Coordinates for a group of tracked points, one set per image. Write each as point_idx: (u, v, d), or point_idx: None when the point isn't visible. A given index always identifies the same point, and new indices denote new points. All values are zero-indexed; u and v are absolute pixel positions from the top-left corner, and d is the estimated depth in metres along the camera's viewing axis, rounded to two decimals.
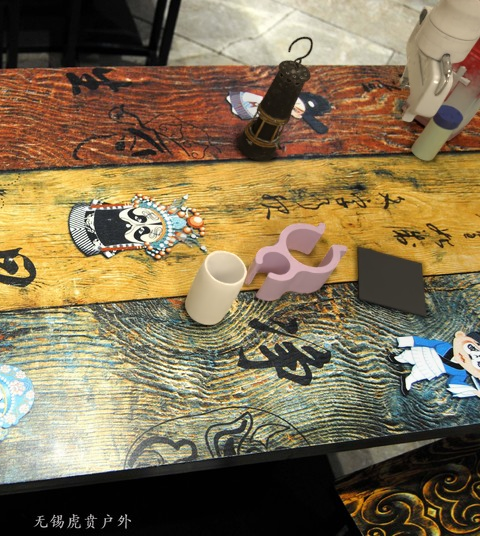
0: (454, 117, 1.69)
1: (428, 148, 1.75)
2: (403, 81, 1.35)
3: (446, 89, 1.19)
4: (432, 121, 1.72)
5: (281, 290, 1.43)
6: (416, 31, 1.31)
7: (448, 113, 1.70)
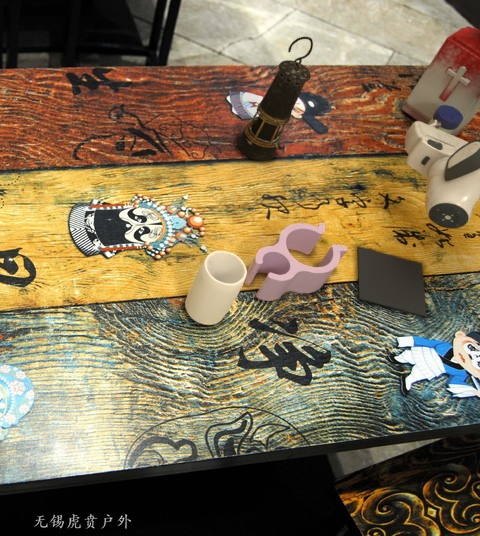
0: (454, 117, 1.69)
1: None
2: None
3: None
4: (432, 121, 1.72)
5: (281, 290, 1.43)
6: None
7: (448, 113, 1.70)
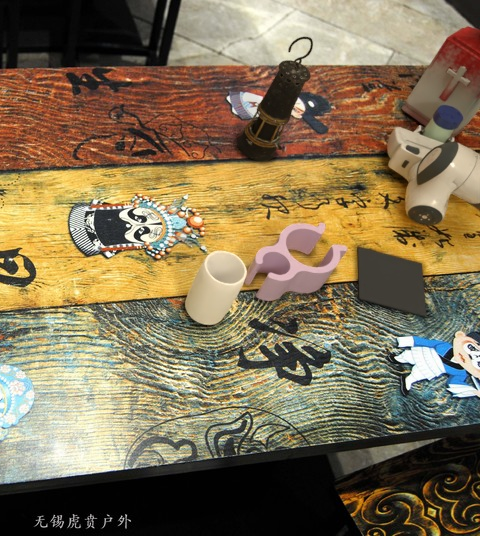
0: (454, 117, 1.69)
1: None
2: None
3: None
4: (432, 121, 1.72)
5: (281, 290, 1.43)
6: None
7: (448, 113, 1.70)
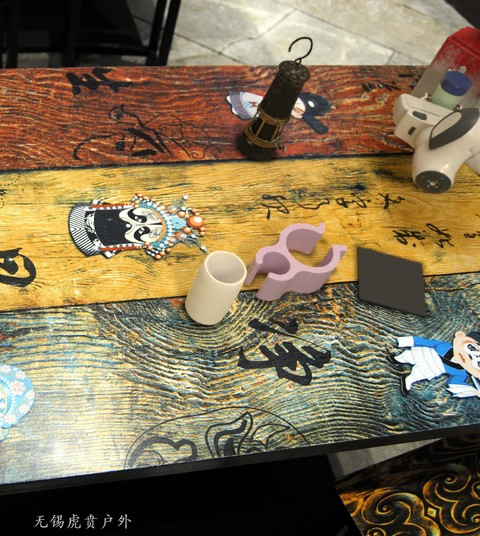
0: (462, 83, 1.63)
1: None
2: None
3: None
4: (439, 87, 1.65)
5: (281, 290, 1.43)
6: None
7: (456, 79, 1.63)
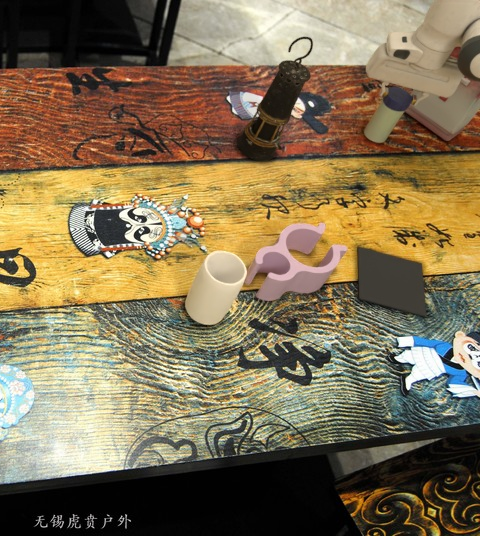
0: (403, 99, 1.70)
1: (379, 130, 1.76)
2: (387, 93, 1.71)
3: None
4: (382, 103, 1.73)
5: (281, 290, 1.43)
6: (382, 63, 1.64)
7: (397, 95, 1.71)
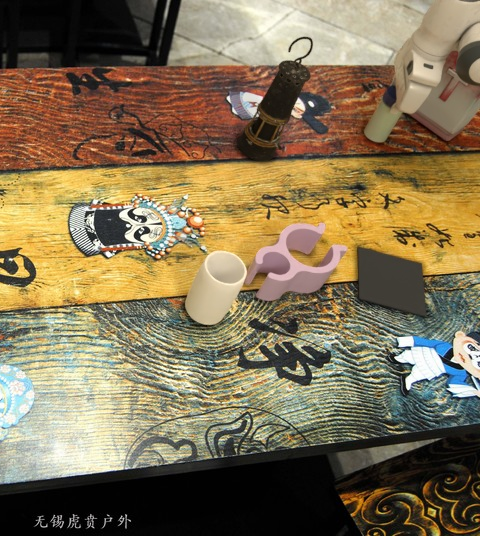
0: None
1: (379, 129, 1.76)
2: None
3: None
4: (381, 102, 1.73)
5: (281, 290, 1.43)
6: None
7: None
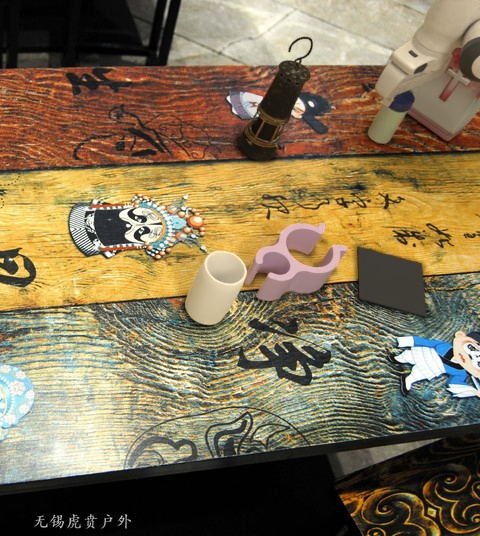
0: None
1: (383, 131, 1.76)
2: None
3: None
4: None
5: (281, 290, 1.43)
6: (399, 83, 1.60)
7: (403, 97, 1.70)
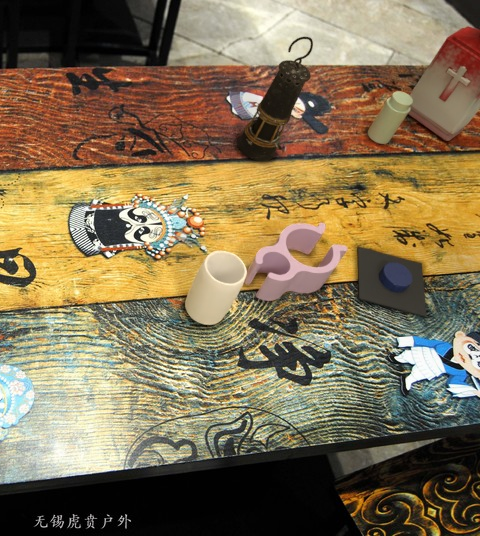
0: (393, 269, 1.52)
1: (383, 131, 1.76)
2: None
3: None
4: (386, 104, 1.73)
5: (281, 290, 1.43)
6: None
7: (400, 274, 1.51)
